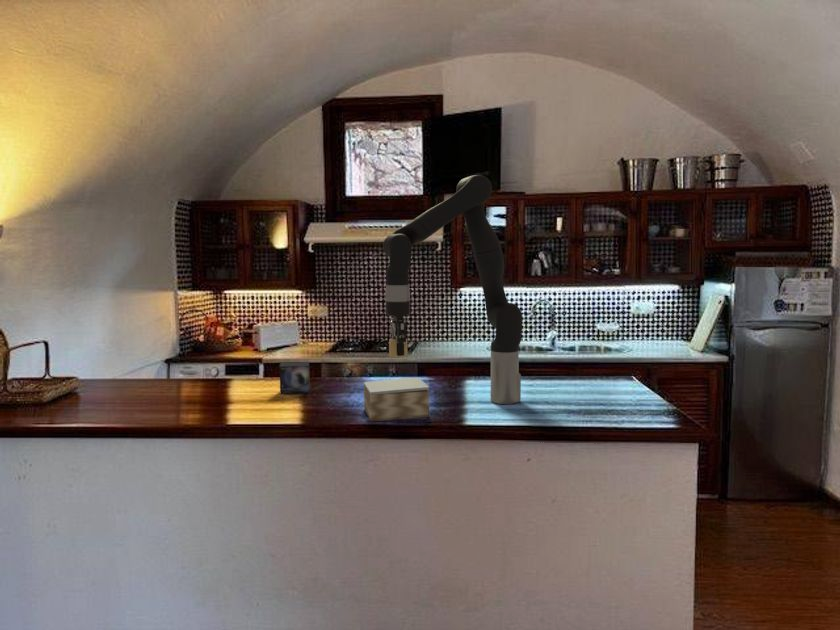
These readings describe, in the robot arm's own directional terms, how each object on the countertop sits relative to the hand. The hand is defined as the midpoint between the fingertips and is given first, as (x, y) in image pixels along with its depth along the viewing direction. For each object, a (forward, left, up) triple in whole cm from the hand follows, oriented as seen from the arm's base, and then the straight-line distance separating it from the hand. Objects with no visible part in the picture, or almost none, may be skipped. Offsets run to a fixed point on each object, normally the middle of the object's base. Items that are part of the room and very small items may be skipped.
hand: (398, 353), depth 184 cm
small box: (+31, -37, -19) cm, 52 cm away
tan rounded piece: (0, 0, -1) cm, 1 cm away
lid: (+1, 0, -10) cm, 10 cm away
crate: (+1, 0, -19) cm, 19 cm away
